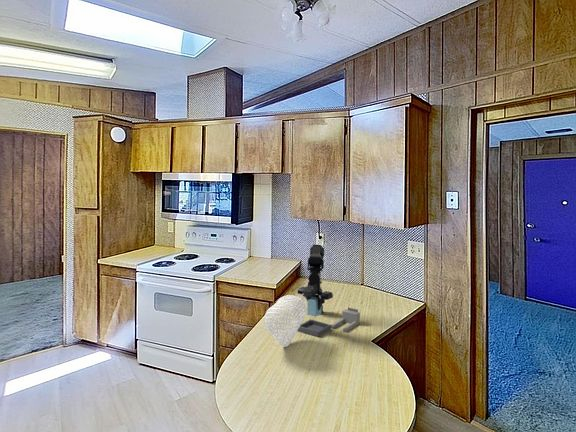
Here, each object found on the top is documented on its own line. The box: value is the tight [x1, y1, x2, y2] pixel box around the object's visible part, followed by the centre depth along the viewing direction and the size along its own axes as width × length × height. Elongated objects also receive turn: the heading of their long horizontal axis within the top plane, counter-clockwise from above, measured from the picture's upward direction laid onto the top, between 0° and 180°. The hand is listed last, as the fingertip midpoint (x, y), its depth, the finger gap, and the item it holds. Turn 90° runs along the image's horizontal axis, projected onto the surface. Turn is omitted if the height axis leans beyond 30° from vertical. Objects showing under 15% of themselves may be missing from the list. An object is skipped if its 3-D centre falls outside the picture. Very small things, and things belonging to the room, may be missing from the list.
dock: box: [330, 307, 361, 333], centre depth 190 cm, size 9×18×7 cm, turn 143°
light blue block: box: [306, 297, 322, 318], centre depth 182 cm, size 5×6×9 cm
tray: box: [297, 318, 332, 338], centre depth 182 cm, size 13×13×3 cm
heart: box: [264, 294, 307, 348], centre depth 162 cm, size 28×16×22 cm, turn 164°
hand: (314, 308), depth 182 cm, fingers closed on light blue block, 5 cm apart
